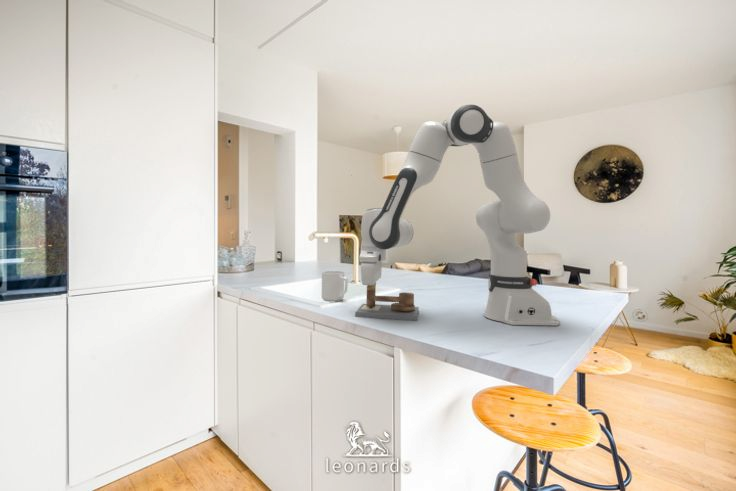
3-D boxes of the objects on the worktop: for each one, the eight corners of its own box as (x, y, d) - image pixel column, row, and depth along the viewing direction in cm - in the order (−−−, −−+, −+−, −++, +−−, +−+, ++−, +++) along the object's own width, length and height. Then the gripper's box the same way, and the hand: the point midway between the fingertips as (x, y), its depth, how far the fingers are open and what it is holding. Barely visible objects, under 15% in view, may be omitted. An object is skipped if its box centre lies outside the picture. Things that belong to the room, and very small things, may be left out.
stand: (418, 311, 122) (418, 306, 122) (417, 320, 109) (417, 315, 109) (362, 307, 126) (362, 303, 125) (355, 316, 113) (355, 311, 113)
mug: (316, 299, 138) (317, 272, 138) (332, 296, 145) (333, 270, 144) (338, 304, 130) (338, 275, 130) (354, 300, 137) (354, 273, 137)
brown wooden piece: (414, 306, 120) (414, 283, 120) (414, 312, 113) (415, 286, 112) (367, 304, 122) (368, 281, 122) (365, 310, 114) (365, 285, 114)
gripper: (369, 252, 132) (368, 288, 132) (358, 256, 112) (357, 299, 112) (385, 253, 131) (384, 289, 131) (377, 257, 110) (376, 300, 111)
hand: (372, 294), depth 122 cm, fingers closed
